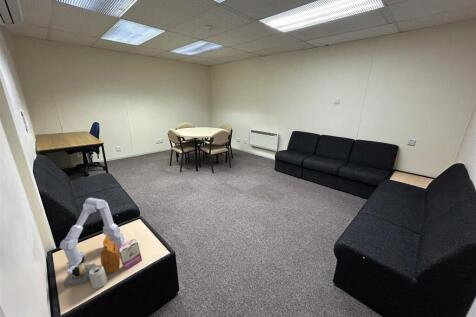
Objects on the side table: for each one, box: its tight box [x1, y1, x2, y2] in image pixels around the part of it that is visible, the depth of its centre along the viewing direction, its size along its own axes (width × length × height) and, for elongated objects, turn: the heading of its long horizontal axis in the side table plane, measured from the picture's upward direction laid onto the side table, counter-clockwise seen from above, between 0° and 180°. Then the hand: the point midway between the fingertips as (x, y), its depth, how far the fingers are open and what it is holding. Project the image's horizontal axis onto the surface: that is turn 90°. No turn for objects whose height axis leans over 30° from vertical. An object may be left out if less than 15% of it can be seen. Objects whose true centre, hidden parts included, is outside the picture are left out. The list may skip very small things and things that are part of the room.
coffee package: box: [99, 235, 121, 275], centre depth 129 cm, size 10×12×22 cm
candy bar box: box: [117, 238, 143, 271], centre depth 132 cm, size 11×5×16 cm, turn 137°
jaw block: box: [73, 262, 86, 278], centre depth 124 cm, size 4×4×7 cm
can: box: [89, 264, 108, 290], centre depth 119 cm, size 8×8×12 cm
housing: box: [63, 263, 96, 288], centre depth 126 cm, size 12×12×2 cm
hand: (79, 272), depth 125 cm, fingers open, 5 cm apart
